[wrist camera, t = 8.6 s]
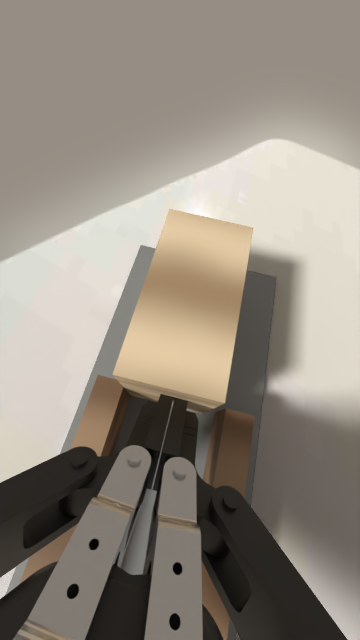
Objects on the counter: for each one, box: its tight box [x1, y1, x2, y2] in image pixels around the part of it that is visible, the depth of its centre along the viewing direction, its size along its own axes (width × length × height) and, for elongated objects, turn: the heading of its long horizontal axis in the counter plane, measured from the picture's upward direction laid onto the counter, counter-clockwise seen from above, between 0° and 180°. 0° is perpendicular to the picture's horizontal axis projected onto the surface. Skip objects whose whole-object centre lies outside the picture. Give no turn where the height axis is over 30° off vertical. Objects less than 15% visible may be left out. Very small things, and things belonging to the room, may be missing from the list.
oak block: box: [112, 209, 253, 414], centre depth 16 cm, size 10×5×7 cm, turn 166°
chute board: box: [6, 245, 276, 640], centre depth 17 cm, size 28×12×1 cm, turn 166°
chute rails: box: [19, 375, 254, 640], centre depth 13 cm, size 14×9×4 cm, turn 166°
